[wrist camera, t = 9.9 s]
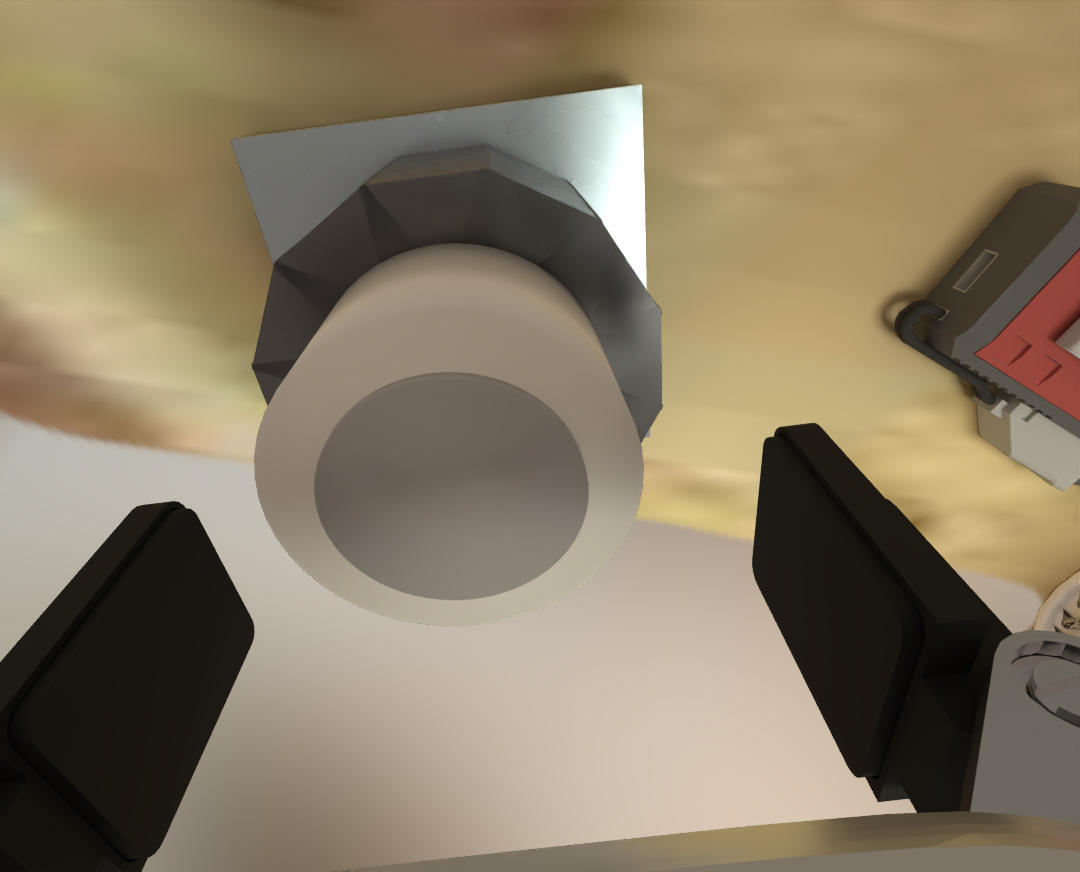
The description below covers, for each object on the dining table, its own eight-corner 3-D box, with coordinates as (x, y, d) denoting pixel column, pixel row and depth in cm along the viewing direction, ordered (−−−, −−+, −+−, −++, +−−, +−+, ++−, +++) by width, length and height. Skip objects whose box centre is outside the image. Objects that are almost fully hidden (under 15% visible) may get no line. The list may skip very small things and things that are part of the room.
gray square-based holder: (631, 84, 18) (708, 85, 12) (641, 418, 25) (695, 536, 18) (248, 135, 18) (119, 163, 12) (354, 457, 25) (306, 590, 18)
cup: (577, 200, 16) (642, 285, 9) (595, 431, 20) (650, 612, 13) (309, 236, 16) (177, 348, 9) (377, 460, 19) (320, 657, 13)
